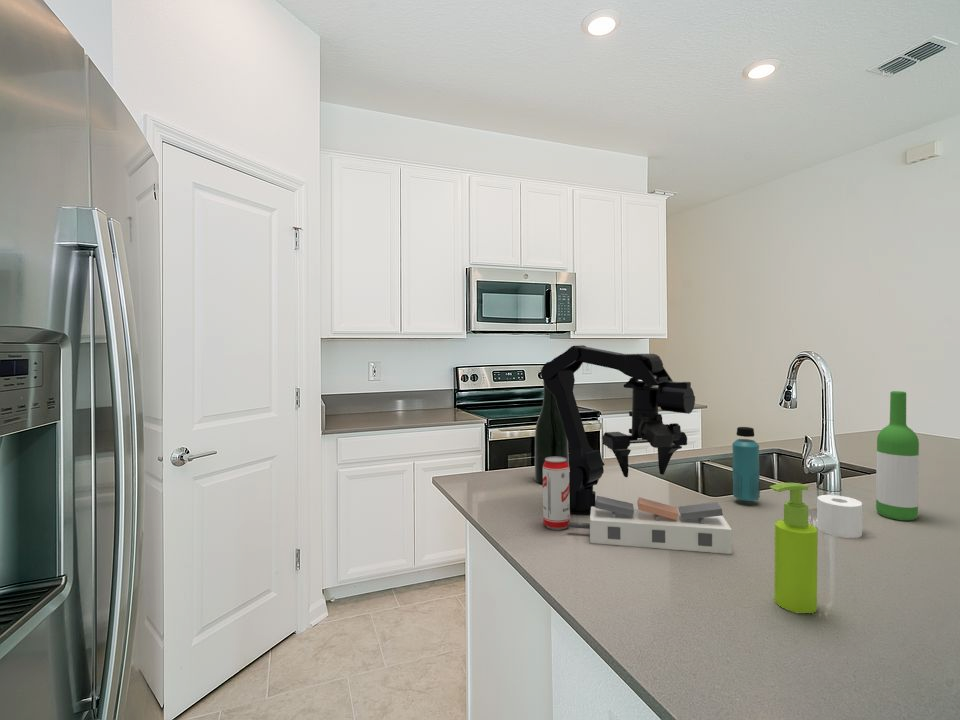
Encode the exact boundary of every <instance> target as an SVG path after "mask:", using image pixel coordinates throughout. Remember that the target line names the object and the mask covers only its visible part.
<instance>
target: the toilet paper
mask: <svg viewBox="0 0 960 720" xmlns="http://www.w3.org/2000/svg"><path fill="white" fill-rule="evenodd" d="M816 501H817V506H816V528H817V530H818V531H820V532H822V533H823V534H827V535H829V536H834V537H836V538H837V537H838V538H844V539H857V538H860V537H862V536H863V503H862V501H860V500H858V499H855V498H852V497H848V496H843V495H838V494H833V493H827V494H822V495H818V496H817V499H816Z"/></svg>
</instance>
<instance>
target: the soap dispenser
mask: <svg viewBox="0 0 960 720" xmlns="http://www.w3.org/2000/svg"><path fill="white" fill-rule="evenodd" d="M769 488H770V489H771V490H774V491H775V492H778V493H781V492H784V491H789V500H787V501H785V502H784V503H783V519H779V520H776V521H775V522H774V602H775V604H776V603H777V604H778V605H779V607H780V606H781V607H782V609H783V608H785V609H788V610H790V611H789V612H791V611H793V612H792V613H794V612H798V613H797V614H799V613H812V614H814V612H815V613H816V612H817V611H816V610H818V531H819V529H818V528H817V526H815V525H813V524H810V523H809V506H808V504H806V503H805V502H803V491H809V486H808V485H806V484H803V483H799V482H780V483H775V484H772V485H770V486H769ZM777 604H776V605H777ZM778 605H777V606H778ZM781 607H780V608H781ZM785 609H784V610H785ZM788 610H787V611H788Z"/></svg>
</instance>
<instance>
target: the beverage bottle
mask: <svg viewBox="0 0 960 720" xmlns="http://www.w3.org/2000/svg"><path fill="white" fill-rule="evenodd" d="M736 436H738V437H745V438H739V439H738V438H737V439H735V441H733V442H732V443H731V444H732V467H731V469H732V470H731V472H732V473H731V475H732V479H731V480H732V483H731V486H732V488H731V490H732V495H733V498H736V499H738V500H741V501H748V502H751V501H752V502H754V501H758V500H759V499H760V493H761V481H760V477H761V476H760V475H761V472H760V466H761V465H760V444H759V443H758V442H756V440H754V439H748V438H750V437H751V438H753V437H755V430H754V428H753V427H750V426H749V427H748V426H739V427H737V428H736Z"/></svg>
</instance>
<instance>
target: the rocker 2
mask: <svg viewBox="0 0 960 720" xmlns="http://www.w3.org/2000/svg"><path fill="white" fill-rule="evenodd" d="M636 504H637V509H638V510H641V511H645V512H649V513H652V514H656V515H660V516H663V517H667V518H671V519H675V520H677V519H678V515H679V513H678V512H679V510H678V509H677V506H674V505H669V504H665V503H661V502H660V501H659V502H658V501H654V500H650V499H646V498H643V497H639V496H638V497H637V503H636Z"/></svg>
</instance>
